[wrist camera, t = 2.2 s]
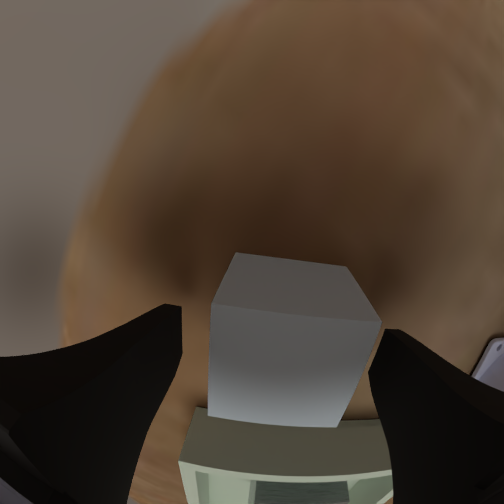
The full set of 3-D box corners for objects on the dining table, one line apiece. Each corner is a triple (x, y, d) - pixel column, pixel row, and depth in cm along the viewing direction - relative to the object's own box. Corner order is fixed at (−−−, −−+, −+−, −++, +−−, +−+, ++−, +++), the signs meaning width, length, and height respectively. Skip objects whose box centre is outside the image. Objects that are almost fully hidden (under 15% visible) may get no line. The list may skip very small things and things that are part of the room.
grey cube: (346, 265, 11) (382, 321, 7) (322, 354, 12) (336, 427, 8) (236, 251, 11) (211, 303, 7) (227, 343, 13) (207, 415, 8)
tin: (342, 453, 14) (349, 501, 10) (319, 484, 15) (321, 524, 12) (259, 450, 14) (254, 502, 10) (250, 482, 16) (245, 523, 12)
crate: (412, 415, 13) (430, 461, 9) (325, 513, 19) (327, 541, 15) (196, 406, 14) (178, 460, 10) (203, 506, 20) (196, 533, 16)
